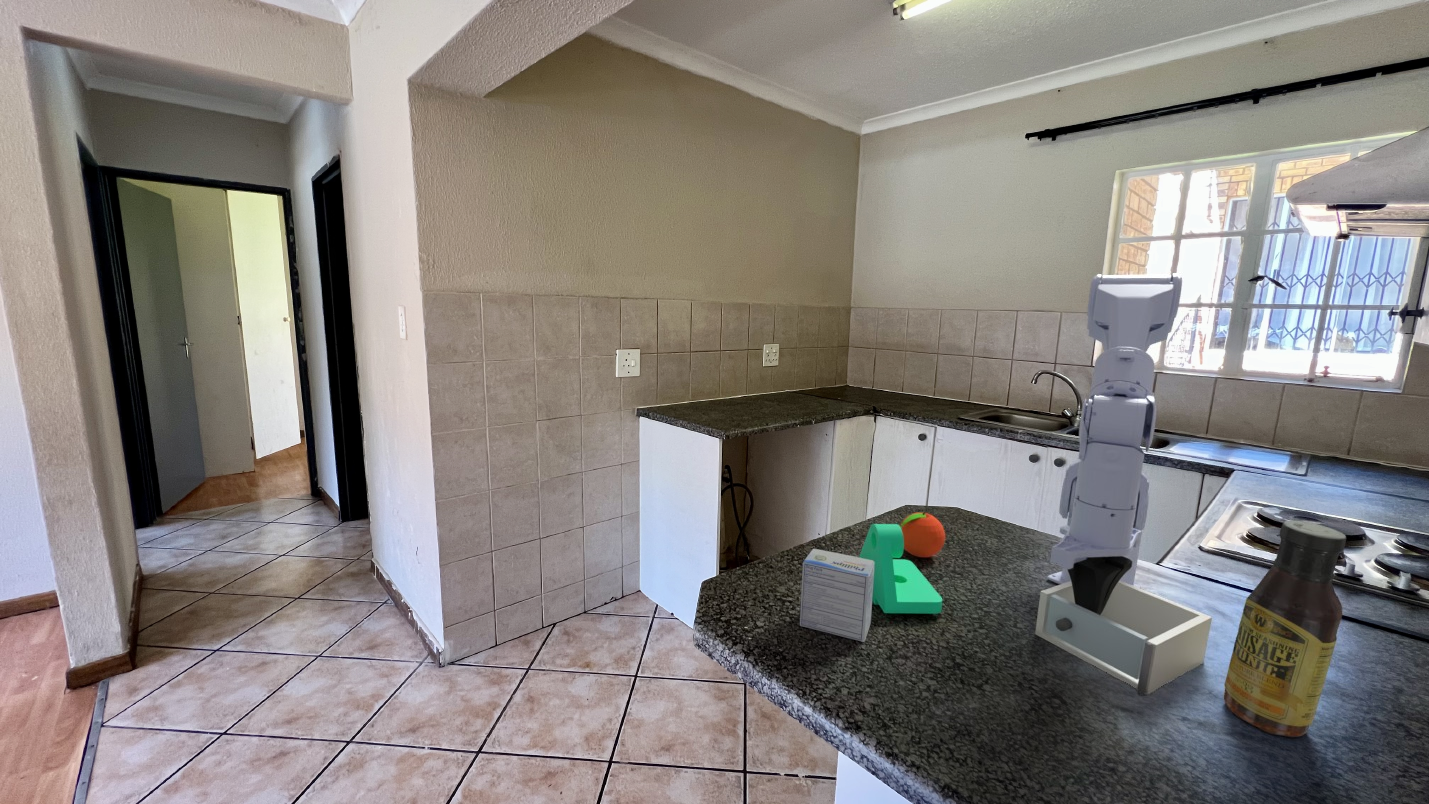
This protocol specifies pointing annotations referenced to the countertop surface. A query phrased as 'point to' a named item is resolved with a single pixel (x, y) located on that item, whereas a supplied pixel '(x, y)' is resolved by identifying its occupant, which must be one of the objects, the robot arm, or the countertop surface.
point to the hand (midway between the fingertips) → (1087, 612)
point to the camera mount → (897, 574)
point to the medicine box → (837, 594)
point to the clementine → (922, 534)
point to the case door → (1096, 635)
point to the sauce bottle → (1288, 633)
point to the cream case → (1142, 633)
